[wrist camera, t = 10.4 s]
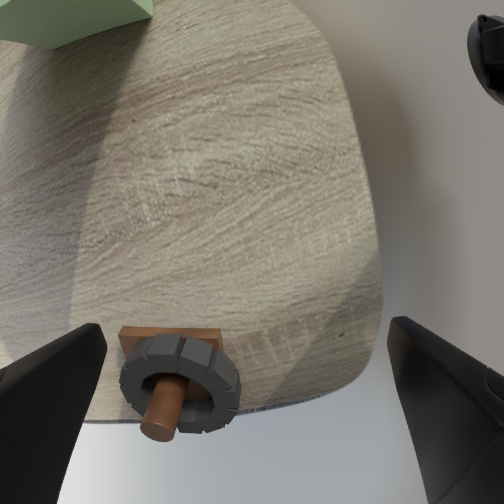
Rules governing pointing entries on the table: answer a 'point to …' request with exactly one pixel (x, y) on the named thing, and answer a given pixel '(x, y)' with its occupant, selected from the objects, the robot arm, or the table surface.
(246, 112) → the table surface
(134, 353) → the chunky treaded tire
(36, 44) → the riser box
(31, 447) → the robot arm
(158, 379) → the stand
